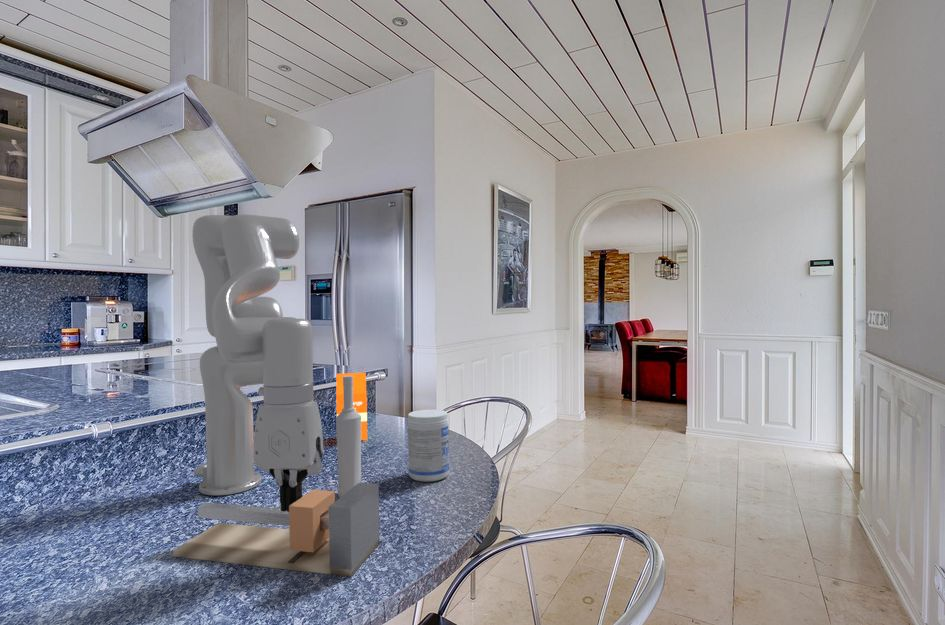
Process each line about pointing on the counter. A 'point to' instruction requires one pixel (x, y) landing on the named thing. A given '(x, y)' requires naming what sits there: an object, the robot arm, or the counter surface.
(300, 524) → the tan notched block
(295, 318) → the robot arm
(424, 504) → the counter surface
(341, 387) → the orange juice
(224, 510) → the slider rail assembly
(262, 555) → the base board
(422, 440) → the supplement tub
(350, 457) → the bottle
